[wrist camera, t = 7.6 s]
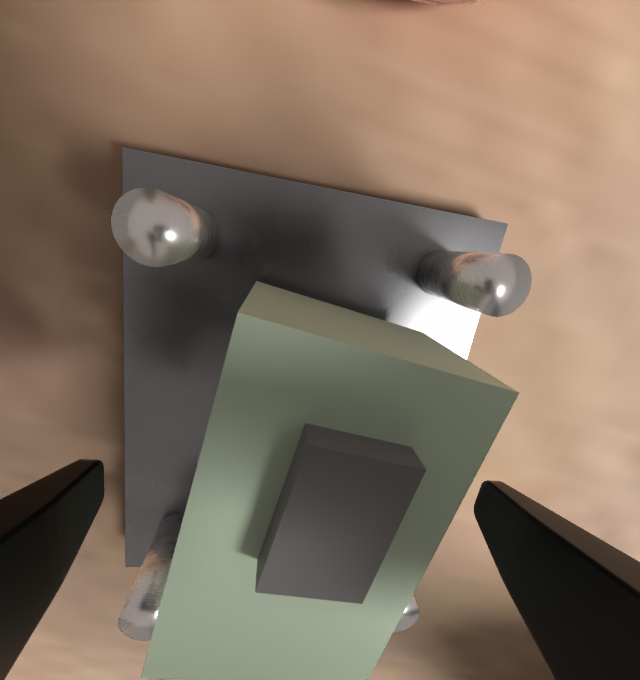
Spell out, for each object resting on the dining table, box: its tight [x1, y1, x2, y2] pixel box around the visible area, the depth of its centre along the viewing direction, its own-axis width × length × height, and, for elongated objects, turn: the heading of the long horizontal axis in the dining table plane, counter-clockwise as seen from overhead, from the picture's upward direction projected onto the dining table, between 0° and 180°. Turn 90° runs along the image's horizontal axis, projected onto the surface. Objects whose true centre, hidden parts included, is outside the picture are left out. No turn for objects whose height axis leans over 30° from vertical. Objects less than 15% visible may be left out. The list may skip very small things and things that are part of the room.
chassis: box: [111, 147, 532, 640], centre depth 10 cm, size 14×11×4 cm
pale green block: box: [141, 281, 519, 680], centre depth 8 cm, size 8×5×5 cm, turn 162°
